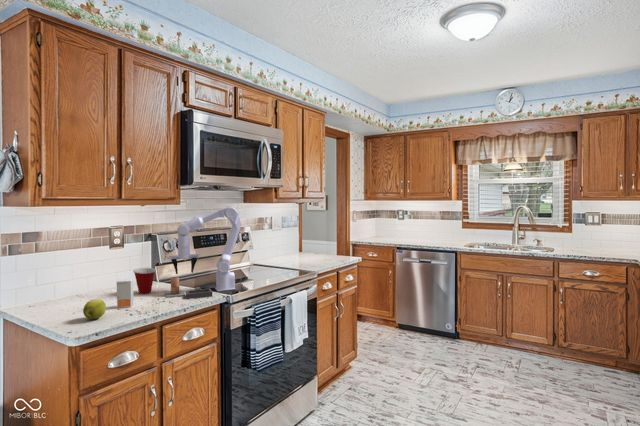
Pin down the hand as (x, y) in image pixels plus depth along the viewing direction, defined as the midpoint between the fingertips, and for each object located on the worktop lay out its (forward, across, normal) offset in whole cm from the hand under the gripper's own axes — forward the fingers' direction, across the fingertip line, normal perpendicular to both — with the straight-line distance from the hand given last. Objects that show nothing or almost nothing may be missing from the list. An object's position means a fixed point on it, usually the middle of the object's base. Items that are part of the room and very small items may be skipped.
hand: (184, 273), depth 212 cm
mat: (+10, -5, -5) cm, 12 cm away
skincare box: (+10, -28, -17) cm, 34 cm away
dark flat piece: (+10, +5, -13) cm, 17 cm away
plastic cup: (+10, -19, +8) cm, 22 cm away
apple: (+10, -39, -32) cm, 52 cm away
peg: (+9, -5, -5) cm, 12 cm away
